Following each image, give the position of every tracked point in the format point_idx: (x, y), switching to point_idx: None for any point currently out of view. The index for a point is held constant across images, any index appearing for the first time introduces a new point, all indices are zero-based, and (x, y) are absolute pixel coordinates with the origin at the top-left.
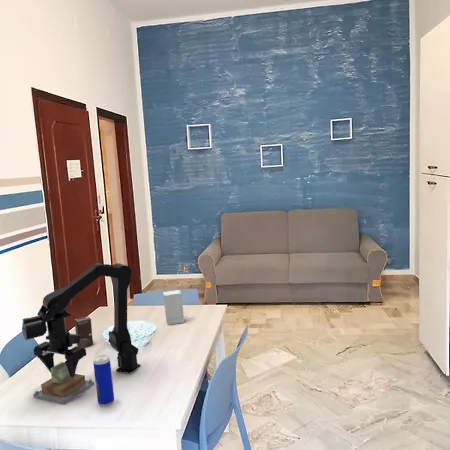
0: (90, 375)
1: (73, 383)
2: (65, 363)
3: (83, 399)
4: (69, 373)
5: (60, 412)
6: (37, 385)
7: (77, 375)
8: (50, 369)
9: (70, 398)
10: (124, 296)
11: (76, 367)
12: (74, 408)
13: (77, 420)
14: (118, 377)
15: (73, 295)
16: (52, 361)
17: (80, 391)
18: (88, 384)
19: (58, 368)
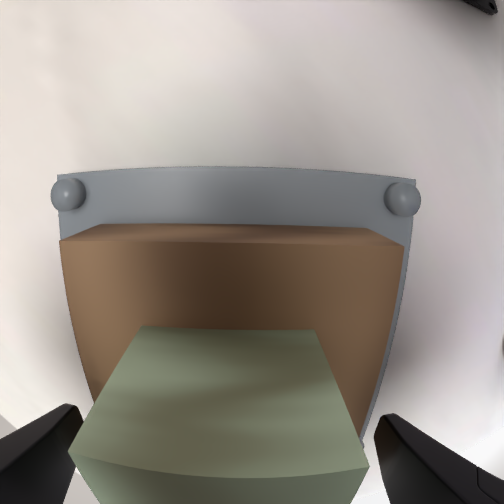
0: (254, 45)
1: (371, 393)
2: (202, 490)
3: (430, 362)
4: (387, 489)
5: (370, 464)
6: (7, 317)
7: (318, 273)
8: (70, 472)
9: (370, 411)
10: None
11: (471, 463)
12: (419, 426)
13: (457, 451)
14: (475, 56)
15: None
16: (8, 490)
17: (392, 335)
18: (398, 232)
19: None
